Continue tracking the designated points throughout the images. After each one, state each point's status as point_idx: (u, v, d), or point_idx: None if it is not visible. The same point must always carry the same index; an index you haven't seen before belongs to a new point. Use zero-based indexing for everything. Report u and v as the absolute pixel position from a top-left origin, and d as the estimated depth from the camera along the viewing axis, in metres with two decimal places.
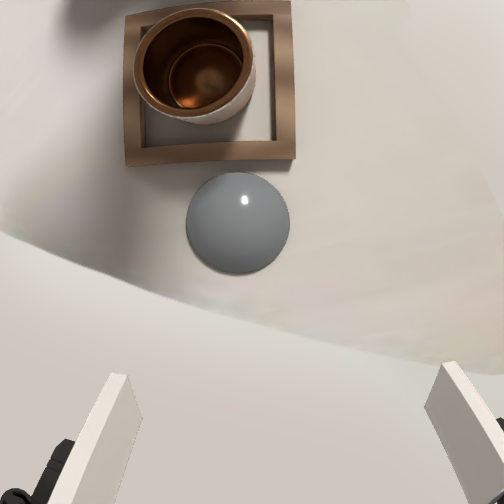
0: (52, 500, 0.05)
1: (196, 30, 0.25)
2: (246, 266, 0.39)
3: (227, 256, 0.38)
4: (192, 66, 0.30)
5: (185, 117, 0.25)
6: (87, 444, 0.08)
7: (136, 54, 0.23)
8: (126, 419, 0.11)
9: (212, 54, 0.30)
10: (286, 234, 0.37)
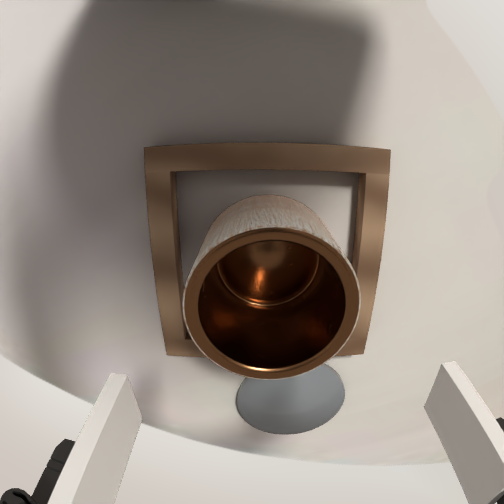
0: (52, 500, 0.05)
1: None
2: (295, 429, 0.34)
3: (277, 424, 0.34)
4: (250, 245, 0.26)
5: (262, 378, 0.20)
6: (87, 444, 0.08)
7: (186, 293, 0.18)
8: (126, 419, 0.11)
9: None
10: (339, 407, 0.33)
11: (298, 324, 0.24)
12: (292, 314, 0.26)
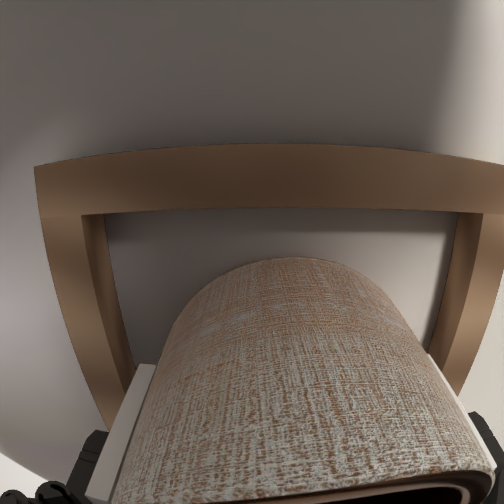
0: (89, 491, 0.06)
1: None
2: None
3: None
4: None
5: None
6: (122, 433, 0.08)
7: None
8: None
9: None
10: None
11: None
12: None
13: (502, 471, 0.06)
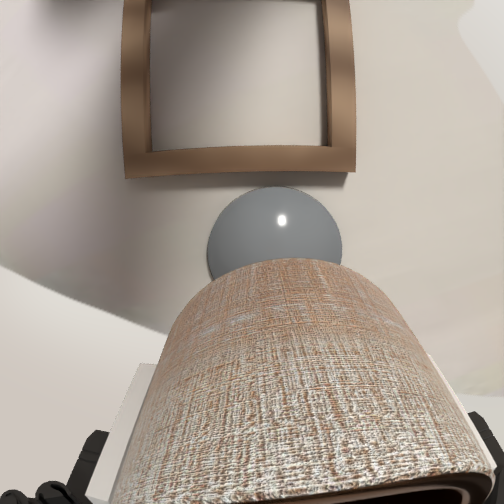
0: (90, 491, 0.06)
1: None
2: None
3: None
4: None
5: None
6: (122, 433, 0.08)
7: None
8: None
9: None
10: None
11: None
12: None
13: (502, 471, 0.06)
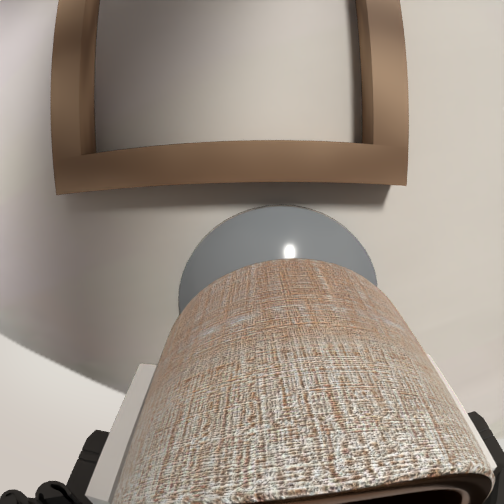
0: (90, 491, 0.06)
1: None
2: None
3: None
4: None
5: None
6: (122, 433, 0.08)
7: None
8: None
9: None
10: None
11: None
12: None
13: (502, 471, 0.06)
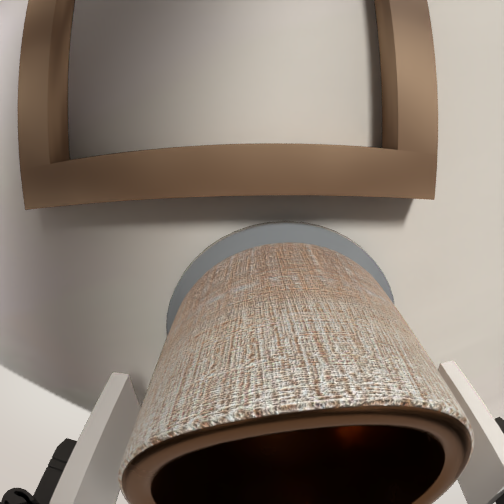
0: (54, 500, 0.05)
1: None
2: None
3: None
4: None
5: None
6: (89, 444, 0.08)
7: (123, 486, 0.06)
8: (127, 419, 0.11)
9: None
10: None
11: (334, 457, 0.12)
12: (323, 432, 0.14)
13: None
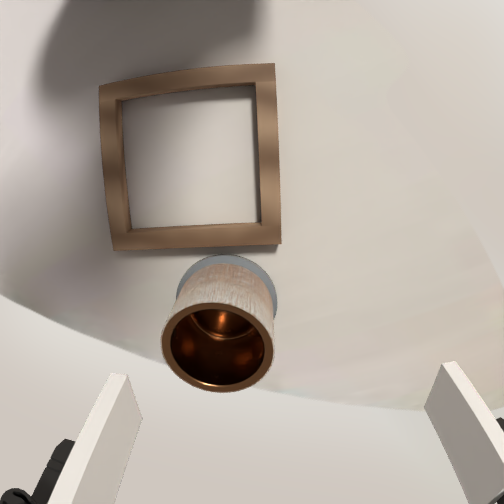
0: (52, 500, 0.05)
1: None
2: None
3: None
4: None
5: (215, 391, 0.30)
6: (87, 444, 0.08)
7: (162, 339, 0.28)
8: (126, 419, 0.11)
9: None
10: (274, 312, 0.38)
11: (244, 354, 0.34)
12: (243, 346, 0.36)
13: None
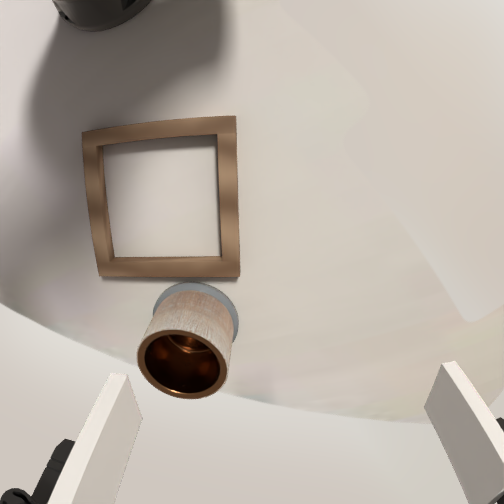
0: (52, 500, 0.05)
1: None
2: None
3: None
4: None
5: None
6: (87, 444, 0.08)
7: (137, 355, 0.33)
8: (126, 419, 0.11)
9: None
10: (235, 331, 0.43)
11: (208, 367, 0.39)
12: (207, 359, 0.41)
13: None
